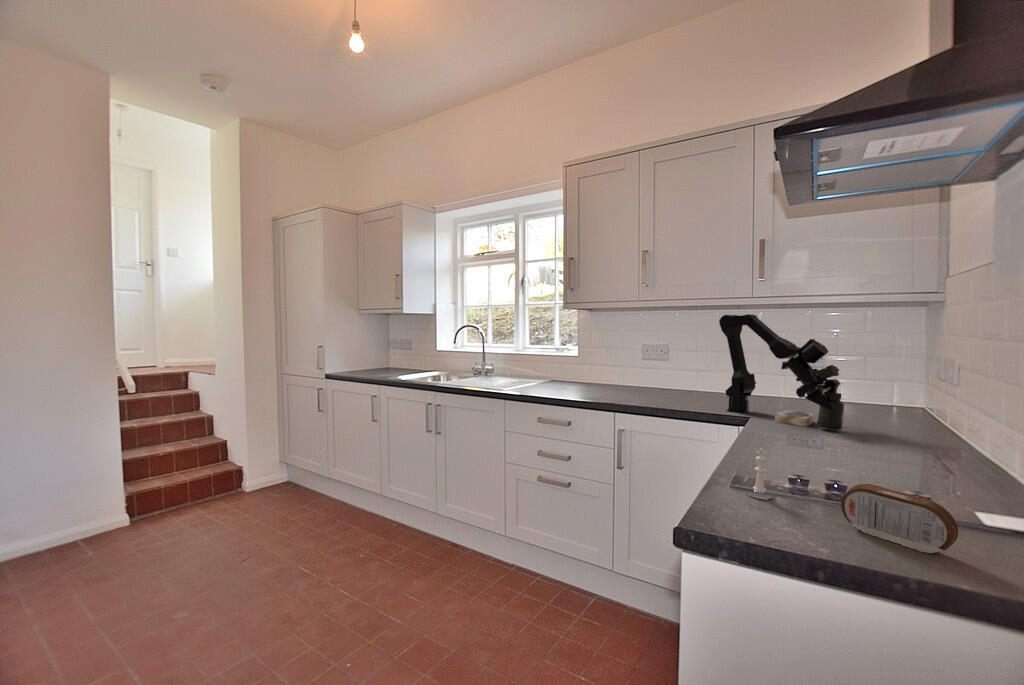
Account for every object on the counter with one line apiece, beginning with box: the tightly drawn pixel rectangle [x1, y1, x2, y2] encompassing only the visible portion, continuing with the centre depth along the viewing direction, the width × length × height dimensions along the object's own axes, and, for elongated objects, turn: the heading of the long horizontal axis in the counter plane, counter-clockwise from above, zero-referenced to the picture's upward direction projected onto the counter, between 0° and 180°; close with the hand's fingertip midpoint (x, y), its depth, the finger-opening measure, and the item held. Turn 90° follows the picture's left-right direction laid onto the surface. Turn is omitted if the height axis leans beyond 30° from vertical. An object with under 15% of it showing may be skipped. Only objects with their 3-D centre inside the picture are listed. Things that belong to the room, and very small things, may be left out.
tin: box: [840, 483, 959, 551], centre depth 76 cm, size 15×3×8 cm, turn 35°
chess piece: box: [752, 448, 767, 493], centre depth 95 cm, size 5×5×10 cm
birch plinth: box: [774, 409, 815, 427], centre depth 166 cm, size 10×10×3 cm
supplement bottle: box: [817, 392, 845, 431], centre depth 153 cm, size 7×7×12 cm
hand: (836, 408), depth 152 cm, fingers closed on supplement bottle, 7 cm apart
